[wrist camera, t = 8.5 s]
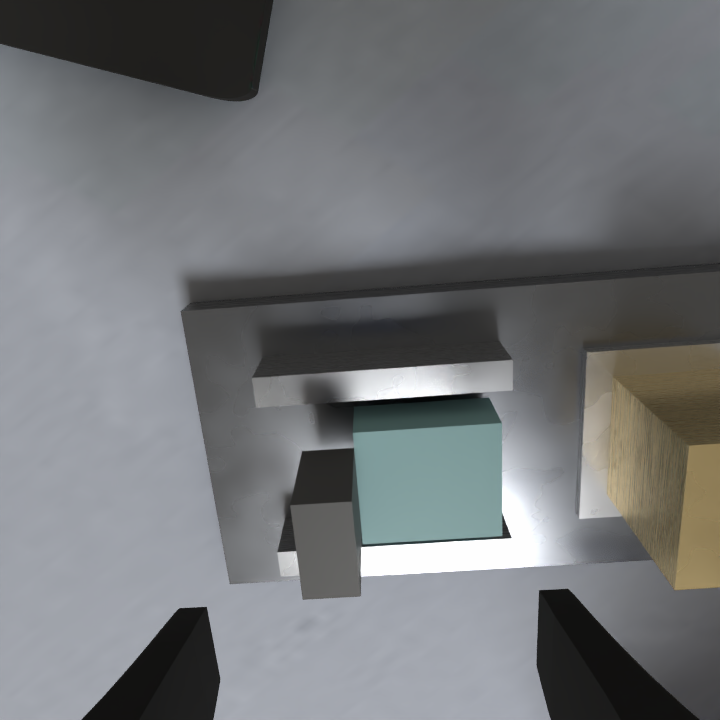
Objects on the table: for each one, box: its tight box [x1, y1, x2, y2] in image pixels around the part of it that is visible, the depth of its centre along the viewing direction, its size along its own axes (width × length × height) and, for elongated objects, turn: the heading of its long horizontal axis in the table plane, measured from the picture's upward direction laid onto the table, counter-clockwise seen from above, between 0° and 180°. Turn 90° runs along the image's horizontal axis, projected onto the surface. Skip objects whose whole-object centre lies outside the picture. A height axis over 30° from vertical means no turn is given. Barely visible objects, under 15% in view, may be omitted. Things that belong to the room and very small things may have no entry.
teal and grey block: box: [290, 398, 502, 600], centre depth 18 cm, size 6×4×5 cm, turn 95°
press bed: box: [181, 263, 720, 584], centre depth 21 cm, size 20×11×3 cm, turn 95°
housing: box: [607, 369, 720, 590], centre depth 18 cm, size 4×4×5 cm
